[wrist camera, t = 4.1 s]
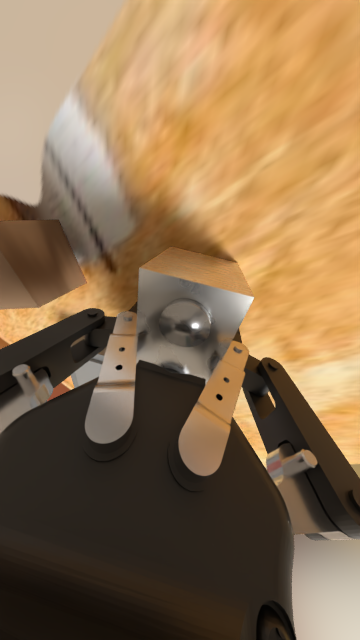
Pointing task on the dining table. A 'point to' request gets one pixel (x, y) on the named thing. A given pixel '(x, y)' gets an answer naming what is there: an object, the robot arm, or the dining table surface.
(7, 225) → the walnut block
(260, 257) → the dining table surface
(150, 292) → the housing
